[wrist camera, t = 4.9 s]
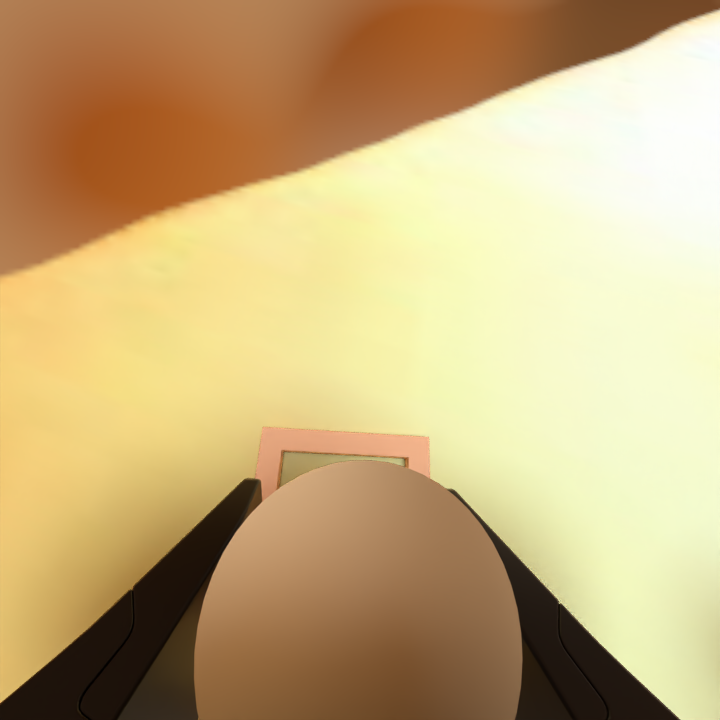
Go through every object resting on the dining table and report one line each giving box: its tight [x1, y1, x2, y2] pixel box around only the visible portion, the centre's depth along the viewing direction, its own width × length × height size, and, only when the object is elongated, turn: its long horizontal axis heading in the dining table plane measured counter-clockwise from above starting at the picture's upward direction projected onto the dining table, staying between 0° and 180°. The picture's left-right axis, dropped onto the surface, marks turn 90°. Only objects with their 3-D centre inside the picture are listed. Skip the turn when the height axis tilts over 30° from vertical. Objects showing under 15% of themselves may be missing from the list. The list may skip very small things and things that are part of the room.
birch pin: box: [194, 460, 523, 720], centre depth 10 cm, size 4×4×12 cm
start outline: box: [255, 427, 430, 502], centre depth 15 cm, size 8×8×1 cm
